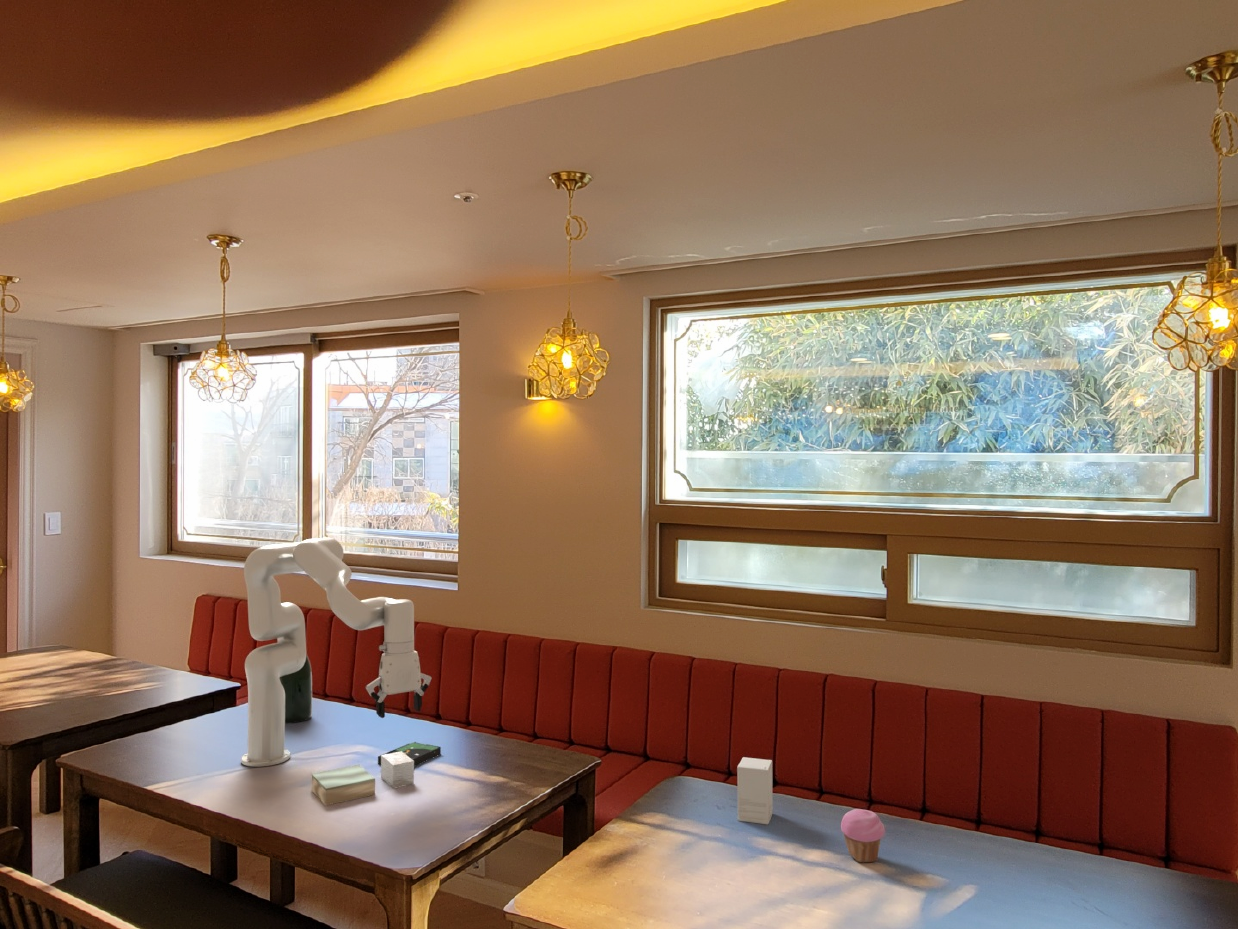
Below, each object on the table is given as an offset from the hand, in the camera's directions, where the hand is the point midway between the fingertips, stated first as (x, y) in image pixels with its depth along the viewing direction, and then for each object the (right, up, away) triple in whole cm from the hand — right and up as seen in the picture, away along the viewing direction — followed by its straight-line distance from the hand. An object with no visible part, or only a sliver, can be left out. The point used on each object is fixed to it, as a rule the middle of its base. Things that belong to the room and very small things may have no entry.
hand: (399, 713), depth 214 cm
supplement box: (+89, -18, -21) cm, 93 cm away
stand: (-12, -17, -8) cm, 22 cm away
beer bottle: (-49, -18, +54) cm, 75 cm away
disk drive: (-1, -18, +16) cm, 25 cm away
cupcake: (+108, -18, -42) cm, 117 cm away
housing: (-1, -18, 0) cm, 18 cm away
